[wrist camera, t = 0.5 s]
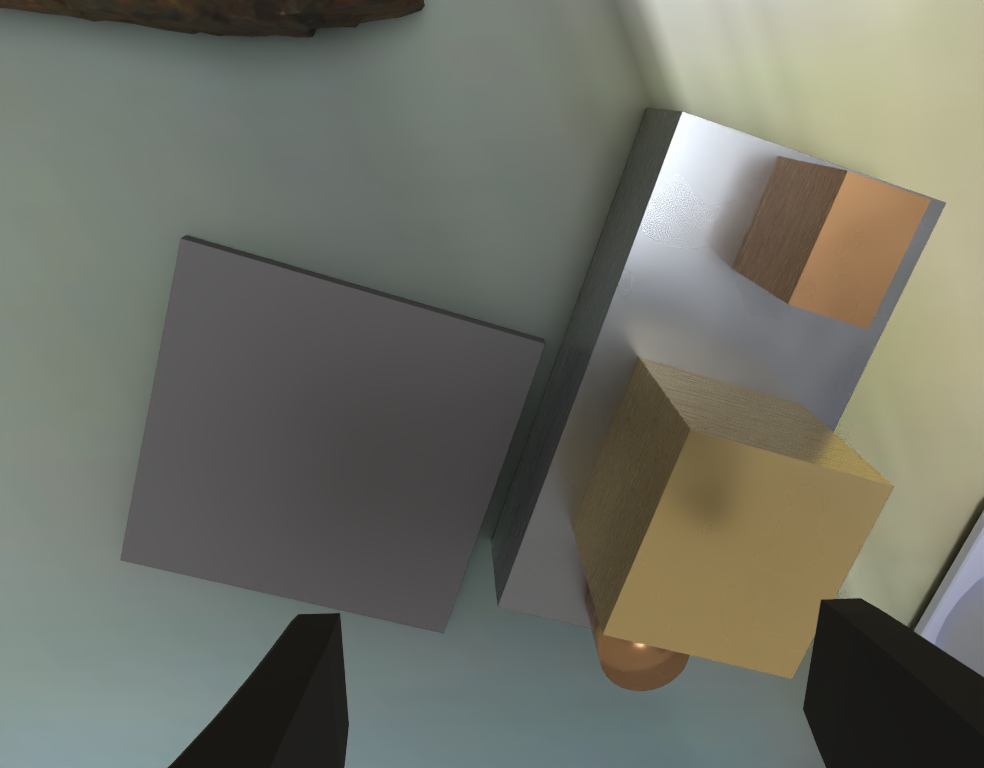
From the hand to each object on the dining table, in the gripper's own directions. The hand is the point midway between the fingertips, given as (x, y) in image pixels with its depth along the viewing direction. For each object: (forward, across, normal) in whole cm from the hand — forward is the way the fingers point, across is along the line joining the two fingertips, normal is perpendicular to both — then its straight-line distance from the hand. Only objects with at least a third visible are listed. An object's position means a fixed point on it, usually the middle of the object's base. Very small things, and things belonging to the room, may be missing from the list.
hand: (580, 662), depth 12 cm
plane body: (+10, -4, -1) cm, 11 cm away
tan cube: (+7, -3, 0) cm, 8 cm away
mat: (+10, +5, +1) cm, 11 cm away
